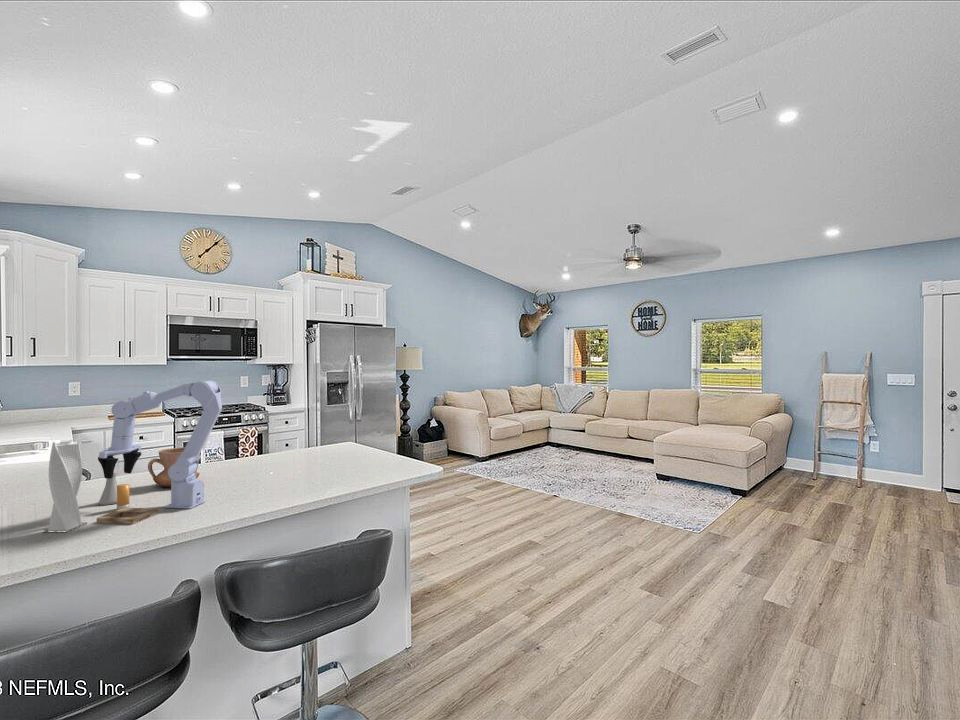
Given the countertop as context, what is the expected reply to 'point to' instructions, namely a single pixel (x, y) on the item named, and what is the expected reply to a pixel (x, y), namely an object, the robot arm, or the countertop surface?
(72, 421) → the countertop surface
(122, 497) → the orange upright cylinder
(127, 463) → the robot arm
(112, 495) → the flask
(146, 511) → the wooden tray
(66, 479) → the skyscraper
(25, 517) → the countertop surface
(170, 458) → the ceramic jug
